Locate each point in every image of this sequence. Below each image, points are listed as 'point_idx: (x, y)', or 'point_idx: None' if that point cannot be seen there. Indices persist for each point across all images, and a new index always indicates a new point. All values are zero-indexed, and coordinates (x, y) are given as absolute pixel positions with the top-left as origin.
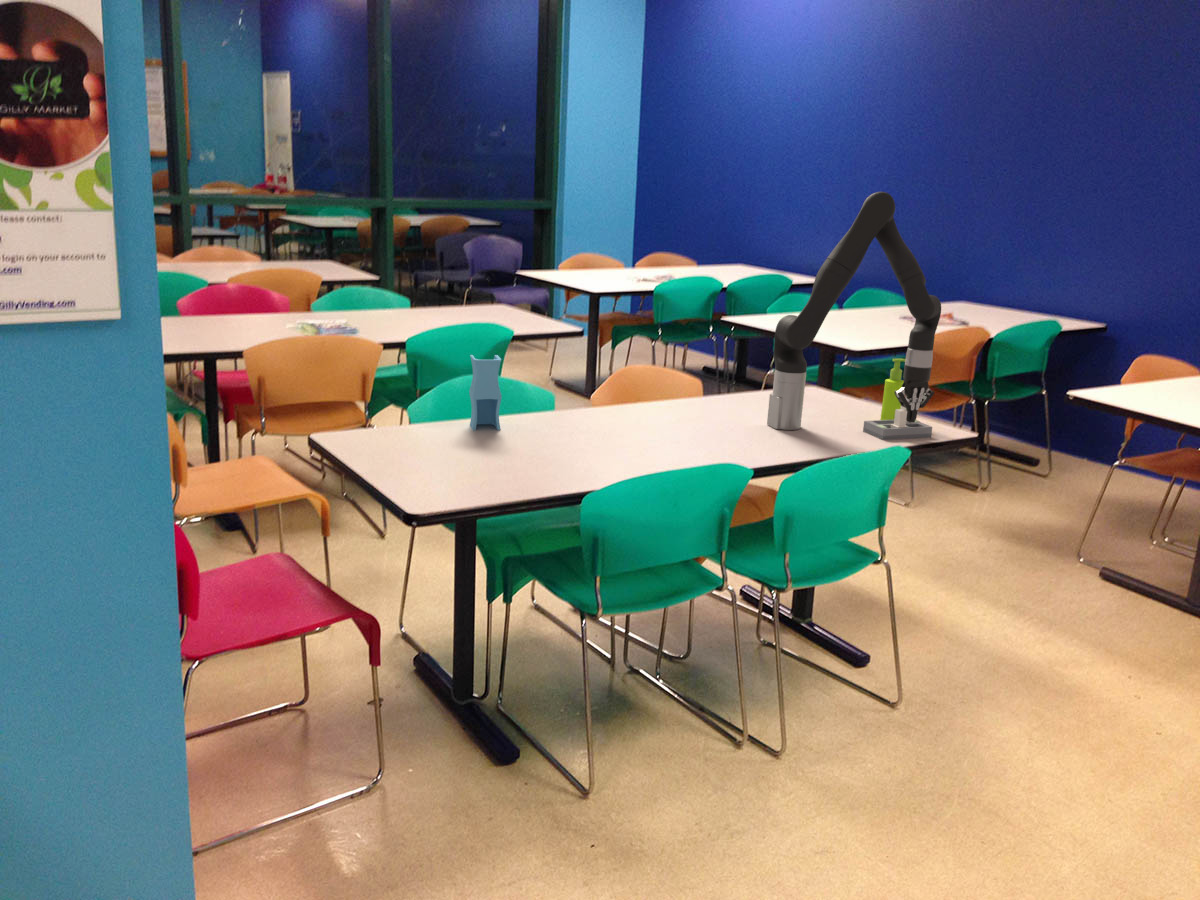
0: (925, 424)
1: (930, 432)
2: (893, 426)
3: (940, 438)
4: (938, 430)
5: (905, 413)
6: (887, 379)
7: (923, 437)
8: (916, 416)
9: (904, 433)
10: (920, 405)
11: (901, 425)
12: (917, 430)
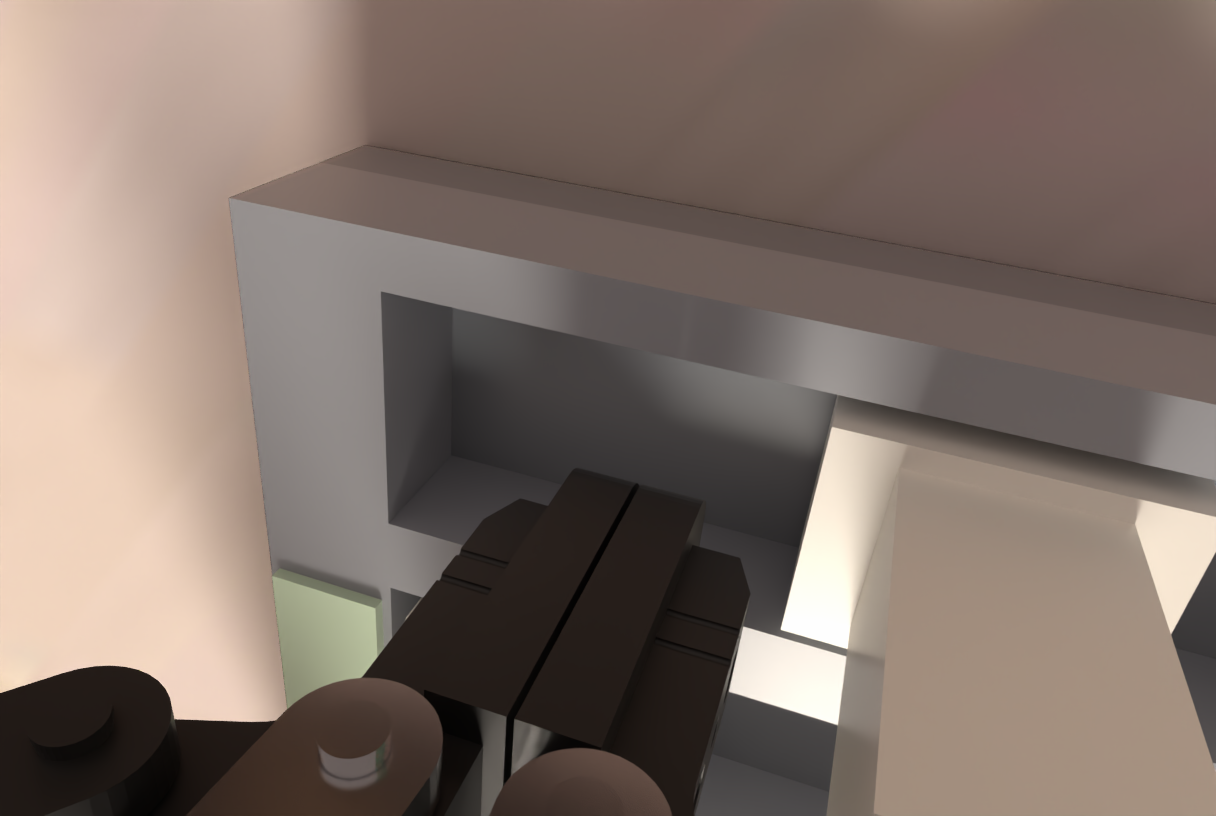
0: (269, 405)
1: (333, 172)
2: (1167, 620)
3: (231, 18)
4: (43, 410)
5: (951, 757)
6: None
7: (524, 175)
8: (460, 557)
9: (1023, 312)
10: (144, 795)
11: (1039, 512)
12: (641, 257)
